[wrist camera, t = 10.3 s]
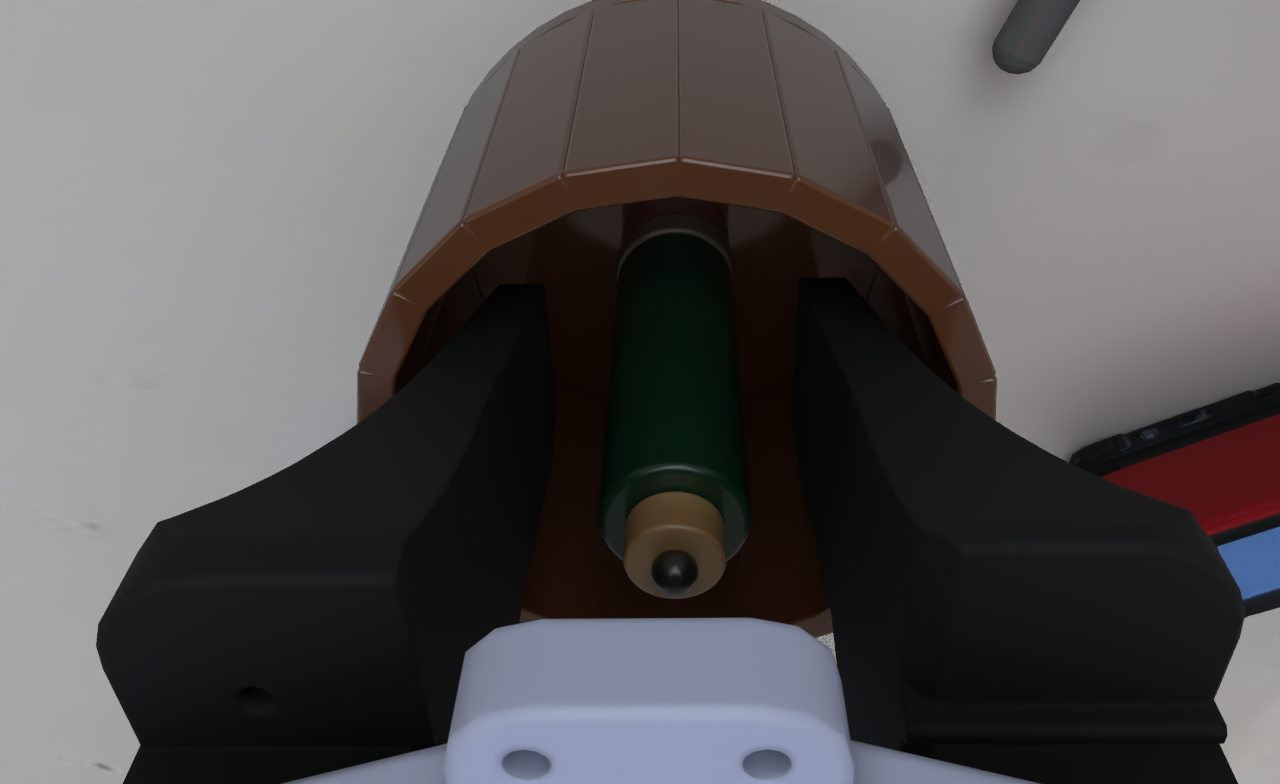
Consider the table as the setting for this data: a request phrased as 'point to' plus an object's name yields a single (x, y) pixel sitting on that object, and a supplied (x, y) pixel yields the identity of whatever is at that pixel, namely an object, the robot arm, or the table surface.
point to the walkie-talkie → (1030, 33)
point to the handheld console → (1212, 480)
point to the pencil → (675, 404)
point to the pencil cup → (758, 238)
